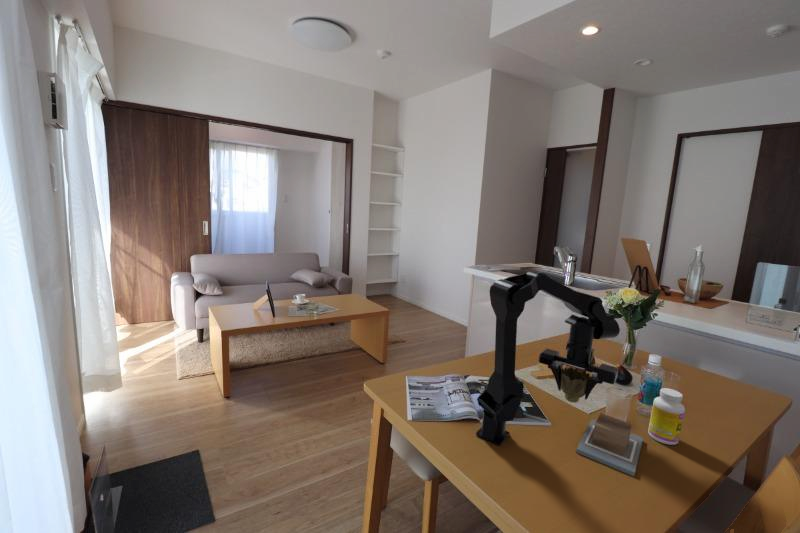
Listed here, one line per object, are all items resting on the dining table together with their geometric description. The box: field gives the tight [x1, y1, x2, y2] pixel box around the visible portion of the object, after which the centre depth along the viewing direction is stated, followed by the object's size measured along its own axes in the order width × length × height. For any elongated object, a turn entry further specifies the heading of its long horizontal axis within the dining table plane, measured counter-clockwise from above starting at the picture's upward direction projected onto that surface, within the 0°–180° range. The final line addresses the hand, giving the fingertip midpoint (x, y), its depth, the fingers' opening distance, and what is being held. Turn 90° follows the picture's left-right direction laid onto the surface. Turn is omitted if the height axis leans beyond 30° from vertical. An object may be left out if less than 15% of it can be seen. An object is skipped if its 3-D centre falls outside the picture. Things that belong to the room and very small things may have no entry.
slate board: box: [575, 419, 644, 477], centre depth 92 cm, size 17×12×1 cm
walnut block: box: [592, 412, 633, 456], centre depth 92 cm, size 7×7×5 cm
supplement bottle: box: [647, 387, 686, 446], centre depth 96 cm, size 7×7×13 cm
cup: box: [561, 366, 591, 404], centre depth 101 cm, size 8×7×8 cm
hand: (572, 394), depth 102 cm, fingers closed on cup, 6 cm apart
